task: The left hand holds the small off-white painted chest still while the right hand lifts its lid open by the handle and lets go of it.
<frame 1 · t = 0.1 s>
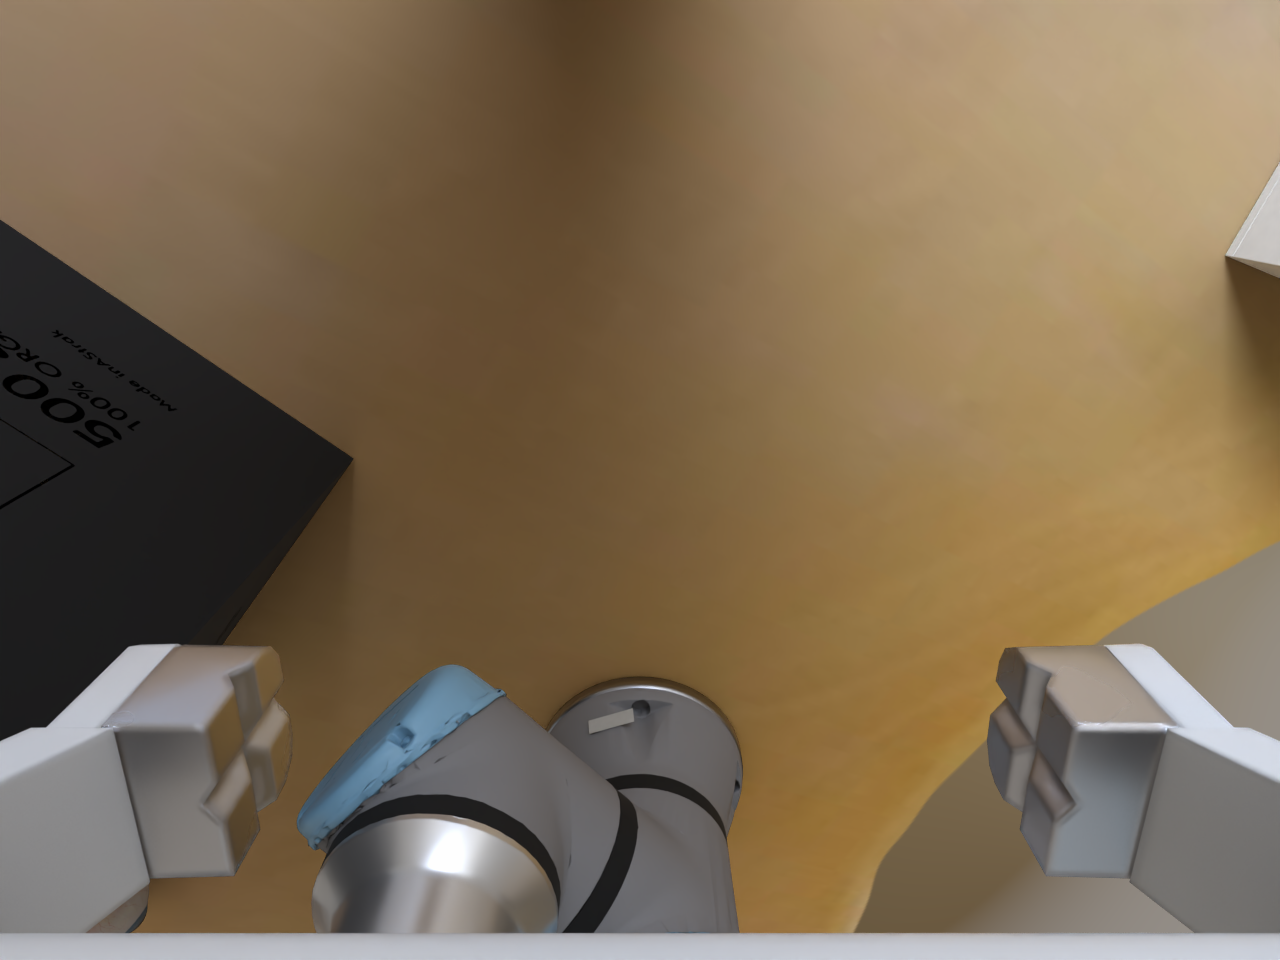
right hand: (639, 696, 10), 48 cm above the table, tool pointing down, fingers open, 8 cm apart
cardboard box: (23, 405, 59), on the table
eyeball: (128, 869, 72), on the table
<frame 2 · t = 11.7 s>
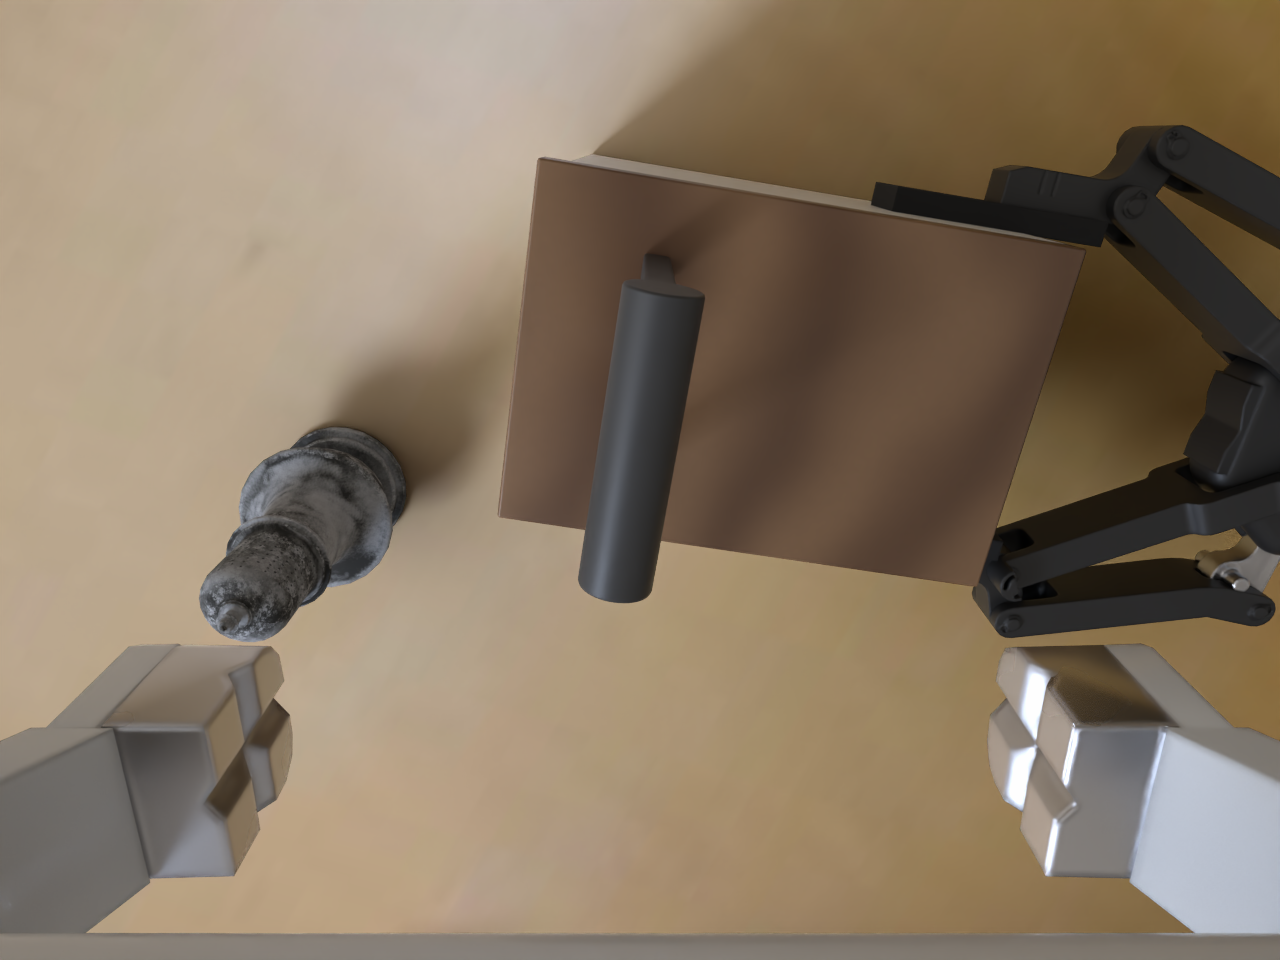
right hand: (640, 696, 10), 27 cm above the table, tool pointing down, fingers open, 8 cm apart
left hand: (843, 362, 30), fingers closed on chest, 10 cm apart
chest: (743, 314, 36), on the table, touching left hand
lid: (794, 424, 22), point 15 cm above the table, hinge at 0.0°
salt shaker: (345, 484, 39), on the table
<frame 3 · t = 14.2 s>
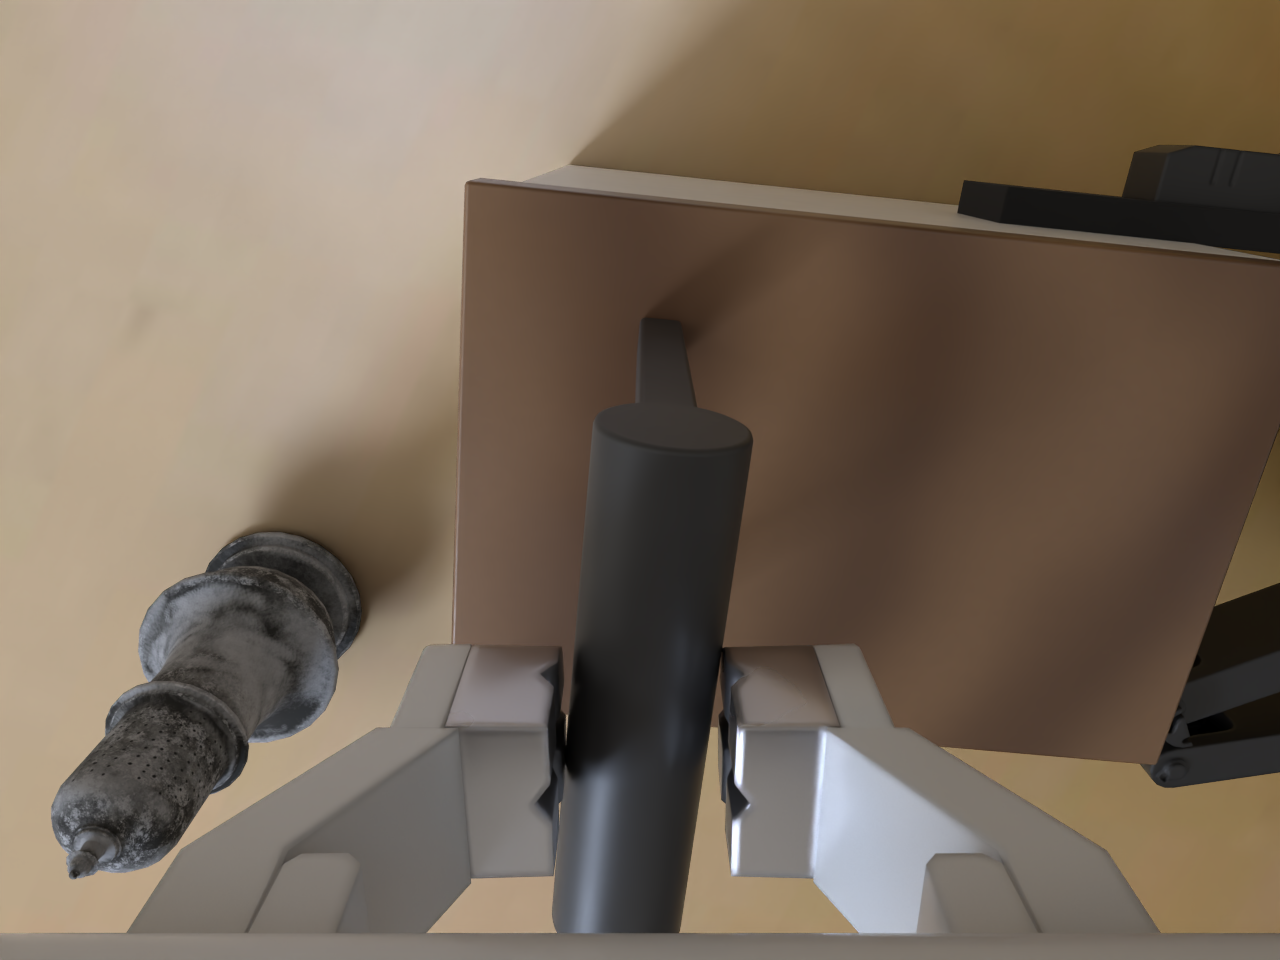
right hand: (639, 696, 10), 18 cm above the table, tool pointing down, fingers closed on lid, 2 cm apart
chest: (779, 360, 28), on the table, touching left hand
lid: (896, 587, 14), point 15 cm above the table, hinge at -0.1°, touching right hand
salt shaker: (284, 600, 31), on the table
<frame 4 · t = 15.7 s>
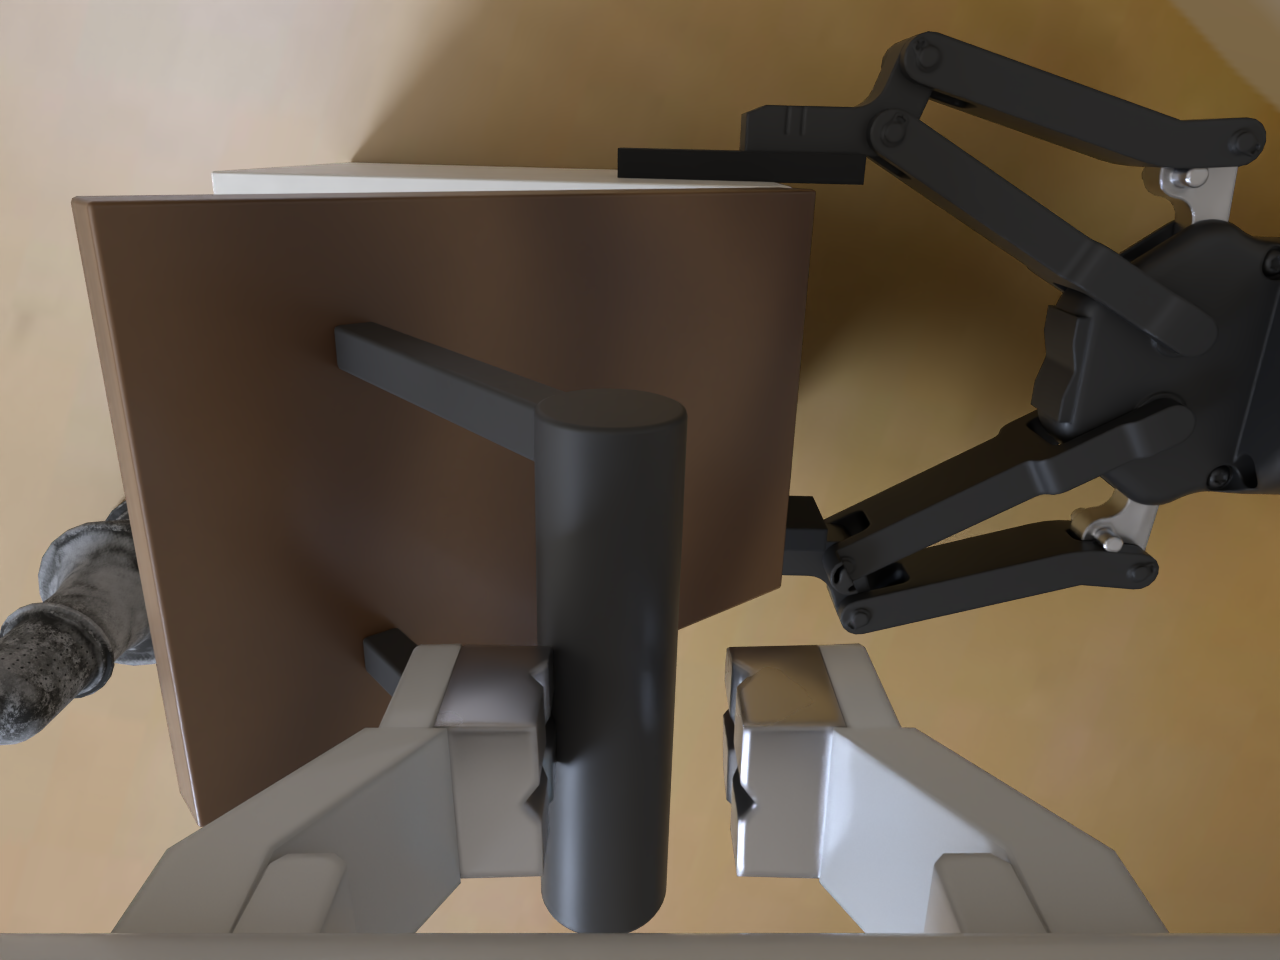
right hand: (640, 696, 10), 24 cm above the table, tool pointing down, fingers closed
left hand: (616, 352, 27), fingers closed on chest, 10 cm apart
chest: (548, 312, 33), on the table, touching left hand
lid: (659, 510, 15), point 19 cm above the table, hinge at 40.2°, touching right hand
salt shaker: (171, 551, 37), on the table
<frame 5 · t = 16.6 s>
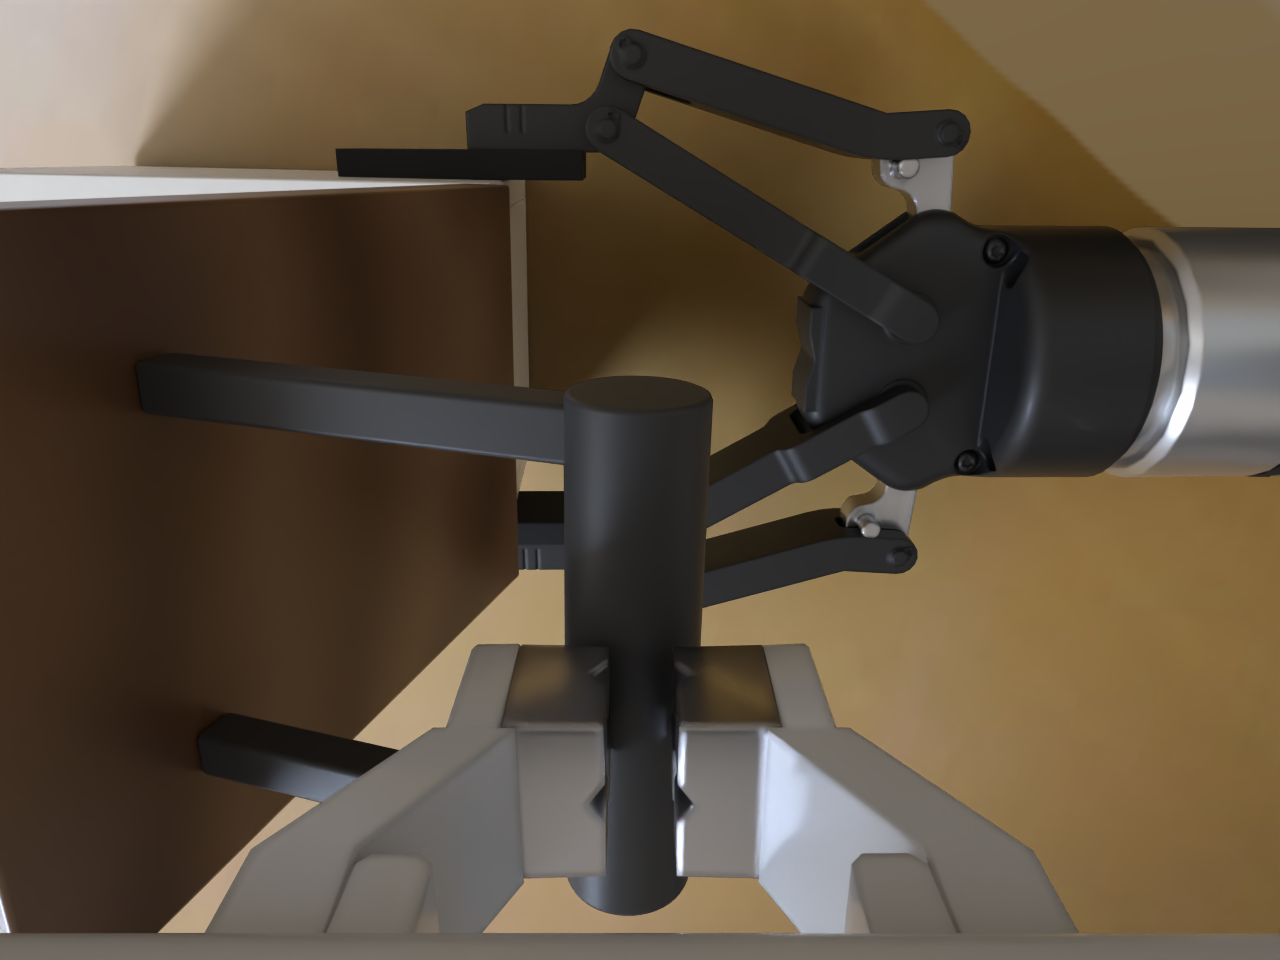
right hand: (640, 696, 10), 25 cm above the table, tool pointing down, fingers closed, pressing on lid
left hand: (369, 352, 27), fingers closed on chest, 10 cm apart
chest: (339, 314, 33), on the table, touching left hand
lid: (505, 509, 15), point 19 cm above the table, hinge at 70.6°, touching right hand
when the left hand's fingers open (7 cm above the table, at t = 20.9 s): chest stays where it is, on the table.
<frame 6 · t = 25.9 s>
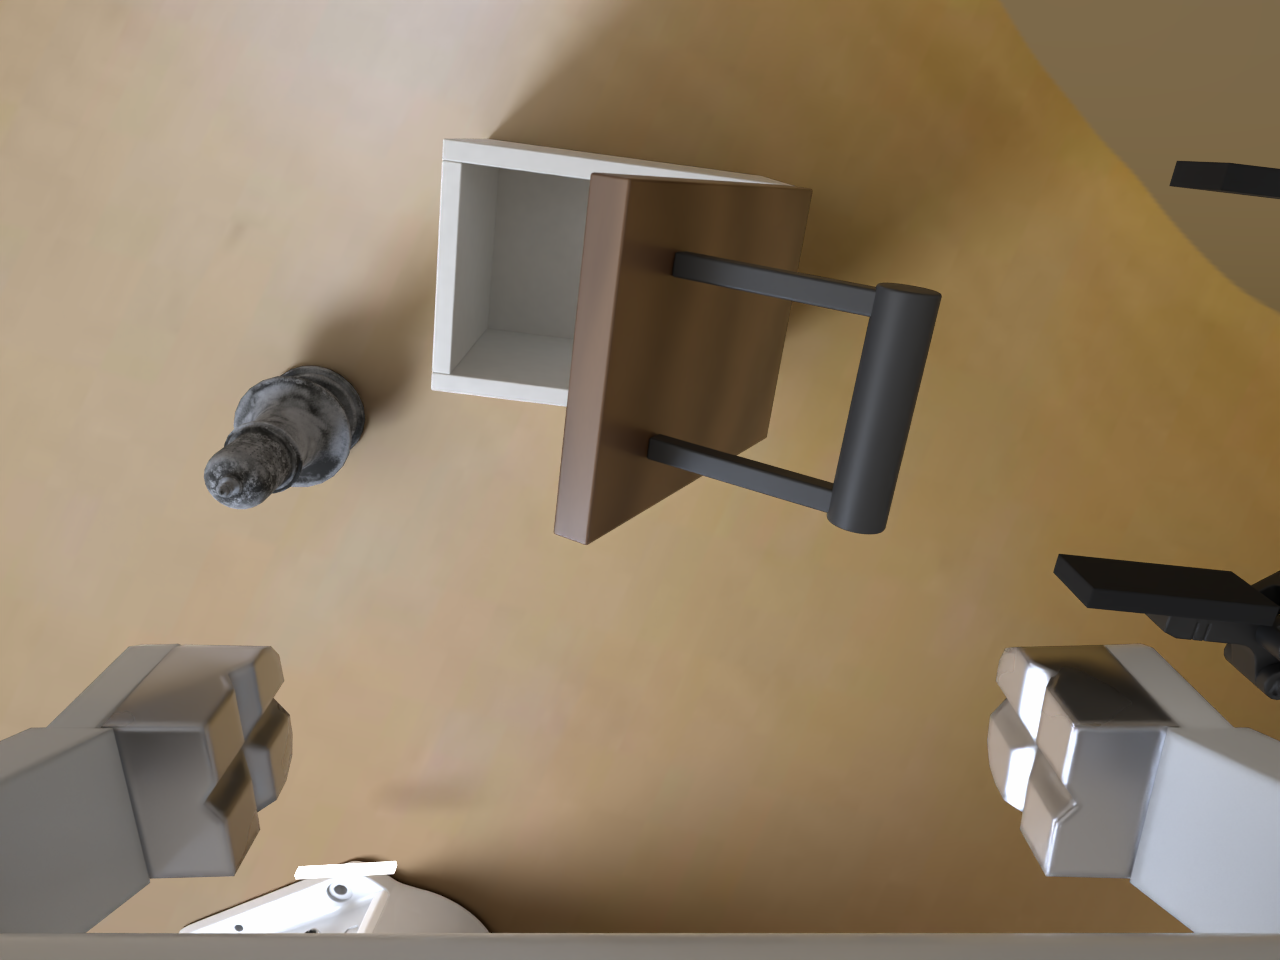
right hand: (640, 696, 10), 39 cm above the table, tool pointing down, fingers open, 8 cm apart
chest: (613, 259, 47), on the table
lid: (804, 362, 29), point 19 cm above the table, hinge at 61.6°
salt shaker: (317, 412, 49), on the table
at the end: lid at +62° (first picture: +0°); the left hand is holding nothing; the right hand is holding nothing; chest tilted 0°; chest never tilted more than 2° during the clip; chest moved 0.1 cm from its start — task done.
